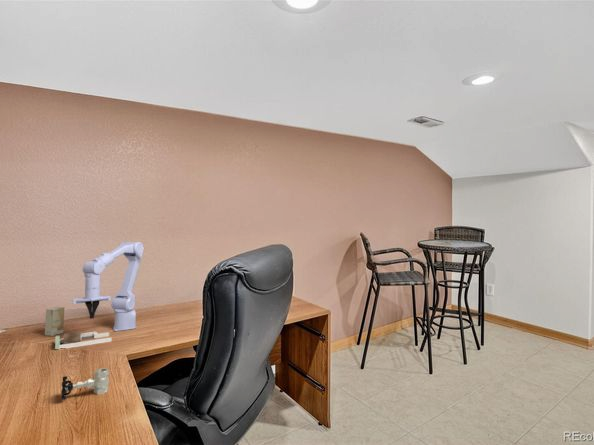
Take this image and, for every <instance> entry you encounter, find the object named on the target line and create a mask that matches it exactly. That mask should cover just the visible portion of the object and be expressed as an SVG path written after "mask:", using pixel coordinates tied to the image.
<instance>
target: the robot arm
mask: <svg viewBox="0 0 594 445" xmlns="http://www.w3.org/2000/svg"><path fill="white" fill-rule="evenodd" d="M144 250H145V248H144V245H143V243H142V242H141V241H122V242H121V243H119V245H118V246H117V247H116V248H114V249H112V251H110V252H103V253H101V255H99V256H98V257H95V258H93V260H92V261H89V260H88V261H86V262H85V263H84V264H83V267H82V268H81V269H82V273H83V274H84V279H85V281H84V282H85V283H84V285H85V286H84V287H85V288H84V297H79V298H73V299H72V304H73V305H76V304H84V305H85V307H86V308H87V311H88V314H89V319H90V320H92V319H95V314H96V311H97V309H98V307H99V305H100V302H106V301H111V302H110V303H111V304H110V305H111V308H112V309H113V312H114V326H112V330H113V331H114V332H120V331H126V330H127V331H128V330H134V329H136V323H137V322H136V321H137V320H136V319H137V313H136V309H134V308H135V305H136V295H135V294H134V293H133V290H134V286H135V283H136V280H137V276H138V272H139V268H140V266H141V261H142V258H143V253H144ZM121 255H123V256H124V257H125V258H126V259H128V264H127V266H126V267H127V268H126V271H125V274H124V278H123V282H122V284H121V287H120V290H119V291H118V292H116V293H115V294H114V297H113V299H111V298H112V296H111V295H101V294H100V293H101V274H103V272H104V269H106V267H108V266H109V265H111V264H112V263H113V262H114V260H115V259H116V258H118V257H119V256H121Z"/></svg>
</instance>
